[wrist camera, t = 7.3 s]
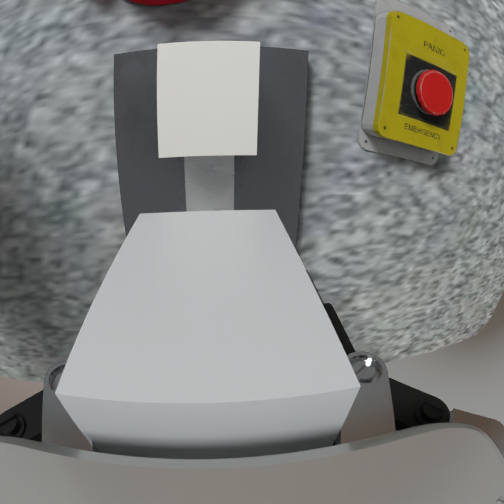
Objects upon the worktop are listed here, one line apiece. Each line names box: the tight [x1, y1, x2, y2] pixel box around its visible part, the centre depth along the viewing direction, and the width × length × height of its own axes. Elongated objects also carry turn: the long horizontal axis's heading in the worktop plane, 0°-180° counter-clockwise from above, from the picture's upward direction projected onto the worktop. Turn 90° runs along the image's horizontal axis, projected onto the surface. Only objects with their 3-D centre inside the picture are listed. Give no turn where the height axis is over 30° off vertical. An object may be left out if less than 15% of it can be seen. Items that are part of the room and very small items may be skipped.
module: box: [55, 210, 361, 459], centre depth 9 cm, size 6×5×8 cm
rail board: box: [114, 47, 308, 249], centre depth 23 cm, size 22×14×2 cm, turn 179°
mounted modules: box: [157, 41, 260, 158], centre depth 20 cm, size 20×5×6 cm, turn 179°
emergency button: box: [358, 0, 469, 165], centre depth 20 cm, size 9×4×15 cm
